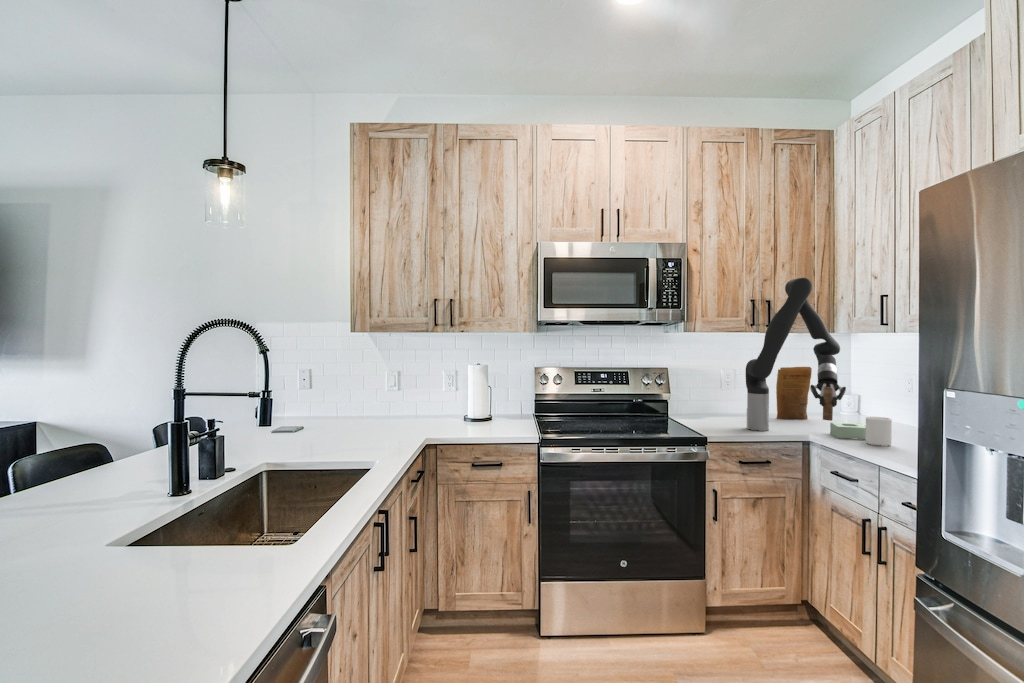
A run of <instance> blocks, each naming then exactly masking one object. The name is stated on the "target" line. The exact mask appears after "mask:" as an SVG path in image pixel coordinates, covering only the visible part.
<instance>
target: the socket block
mask: <svg viewBox="0 0 1024 683" xmlns="http://www.w3.org/2000/svg"><path fill="white" fill-rule="evenodd" d="M829 426H830V427H829V428H830V430H829V431H830V435H832V434H833V436H834V435H835V436H836V437H835V436H834V437H835V438H837V437H838V438H837V439H844V438H857V439H856V440H863V439H866V424H865V425H864V424H863V423H855V422H853V423H852V422H837V421H836V422H833V421H831V422H830V425H829Z"/></svg>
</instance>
